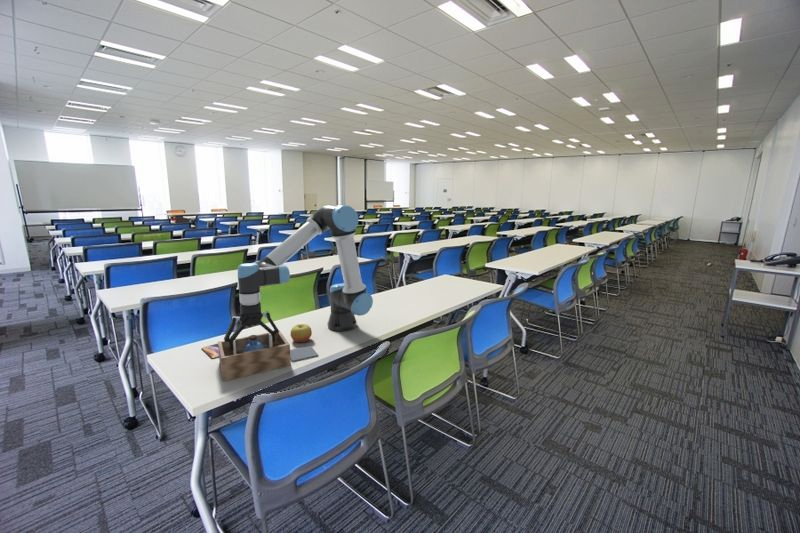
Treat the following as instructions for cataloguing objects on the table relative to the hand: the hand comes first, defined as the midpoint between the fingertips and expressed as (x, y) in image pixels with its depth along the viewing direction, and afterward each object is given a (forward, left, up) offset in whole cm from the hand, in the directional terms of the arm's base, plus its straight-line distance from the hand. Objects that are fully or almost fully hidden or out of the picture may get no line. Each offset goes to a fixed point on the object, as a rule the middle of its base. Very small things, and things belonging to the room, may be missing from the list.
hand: (253, 353), depth 138 cm
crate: (0, 0, -5) cm, 5 cm away
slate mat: (-19, 0, -5) cm, 20 cm away
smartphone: (+13, -22, -5) cm, 26 cm away
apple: (-23, -15, -5) cm, 28 cm away
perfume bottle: (0, 0, -5) cm, 5 cm away
